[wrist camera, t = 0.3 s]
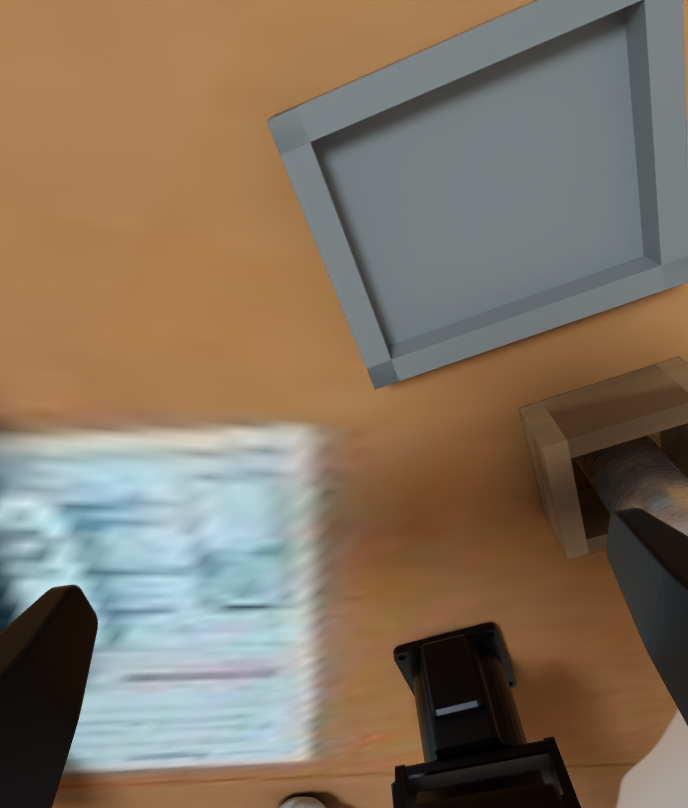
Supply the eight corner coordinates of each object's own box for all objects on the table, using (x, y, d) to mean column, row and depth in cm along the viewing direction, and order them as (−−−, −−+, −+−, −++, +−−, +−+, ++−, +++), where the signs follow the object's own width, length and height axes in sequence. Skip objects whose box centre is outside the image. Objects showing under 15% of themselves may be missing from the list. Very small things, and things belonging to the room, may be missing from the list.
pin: (642, 457, 26) (800, 645, 17) (576, 477, 26) (698, 668, 18) (637, 405, 24) (808, 583, 16) (566, 427, 25) (696, 611, 16)
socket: (685, 474, 26) (724, 517, 24) (544, 514, 28) (567, 559, 25) (679, 356, 23) (724, 391, 20) (518, 408, 24) (542, 447, 22)
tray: (661, 264, 21) (691, 280, 19) (371, 365, 23) (375, 389, 21) (642, -47, 16) (680, -62, 14) (271, 116, 18) (266, 120, 16)
